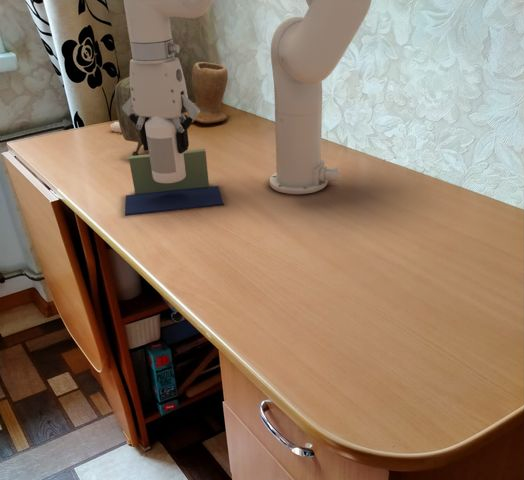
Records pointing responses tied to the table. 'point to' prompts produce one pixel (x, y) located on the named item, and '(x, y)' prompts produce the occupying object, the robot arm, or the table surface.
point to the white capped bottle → (164, 150)
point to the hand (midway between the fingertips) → (165, 149)
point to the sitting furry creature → (115, 127)
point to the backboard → (147, 184)
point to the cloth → (173, 200)
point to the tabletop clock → (125, 123)
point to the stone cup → (209, 91)
